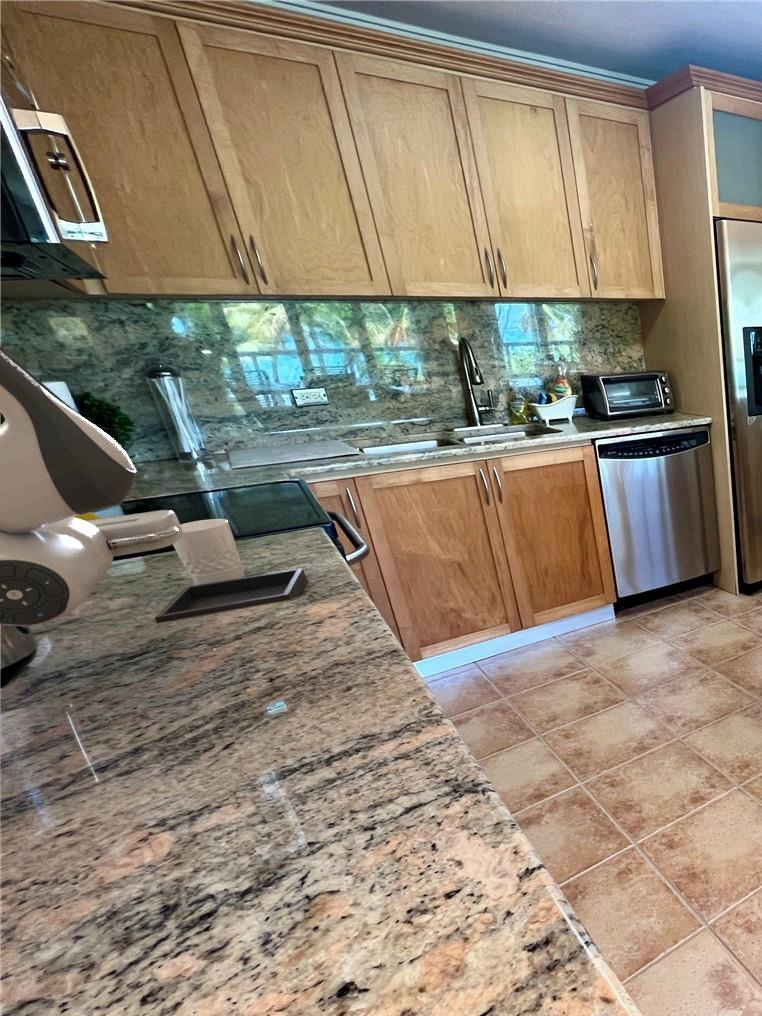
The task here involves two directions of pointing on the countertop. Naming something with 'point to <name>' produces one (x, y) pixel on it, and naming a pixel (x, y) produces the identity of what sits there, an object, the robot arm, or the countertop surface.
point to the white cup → (209, 551)
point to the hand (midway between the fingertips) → (80, 528)
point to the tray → (234, 594)
